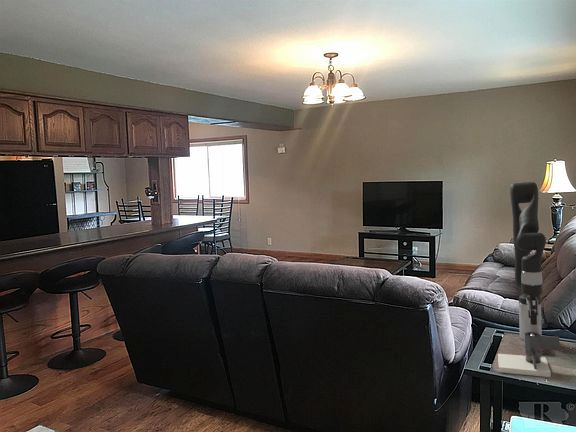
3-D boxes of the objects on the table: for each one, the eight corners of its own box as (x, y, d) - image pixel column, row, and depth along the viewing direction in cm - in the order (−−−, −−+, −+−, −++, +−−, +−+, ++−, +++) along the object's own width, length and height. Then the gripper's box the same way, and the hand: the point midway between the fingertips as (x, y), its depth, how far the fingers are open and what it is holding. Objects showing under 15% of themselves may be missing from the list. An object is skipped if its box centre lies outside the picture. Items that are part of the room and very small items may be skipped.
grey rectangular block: (524, 345, 191) (524, 331, 190) (558, 348, 186) (558, 334, 186) (525, 350, 186) (525, 336, 185) (560, 353, 181) (560, 338, 181)
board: (497, 358, 197) (497, 353, 197) (545, 362, 190) (545, 357, 190) (499, 372, 183) (499, 367, 183) (550, 377, 176) (550, 372, 176)
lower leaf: (525, 357, 191) (524, 331, 190) (540, 359, 189) (539, 332, 188) (527, 368, 181) (526, 340, 180) (543, 369, 179) (542, 342, 178)
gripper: (519, 277, 193) (520, 315, 194) (522, 285, 180) (523, 326, 181) (540, 278, 190) (540, 316, 191) (544, 286, 177) (545, 327, 178)
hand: (532, 321), depth 186 cm, fingers open, 8 cm apart
